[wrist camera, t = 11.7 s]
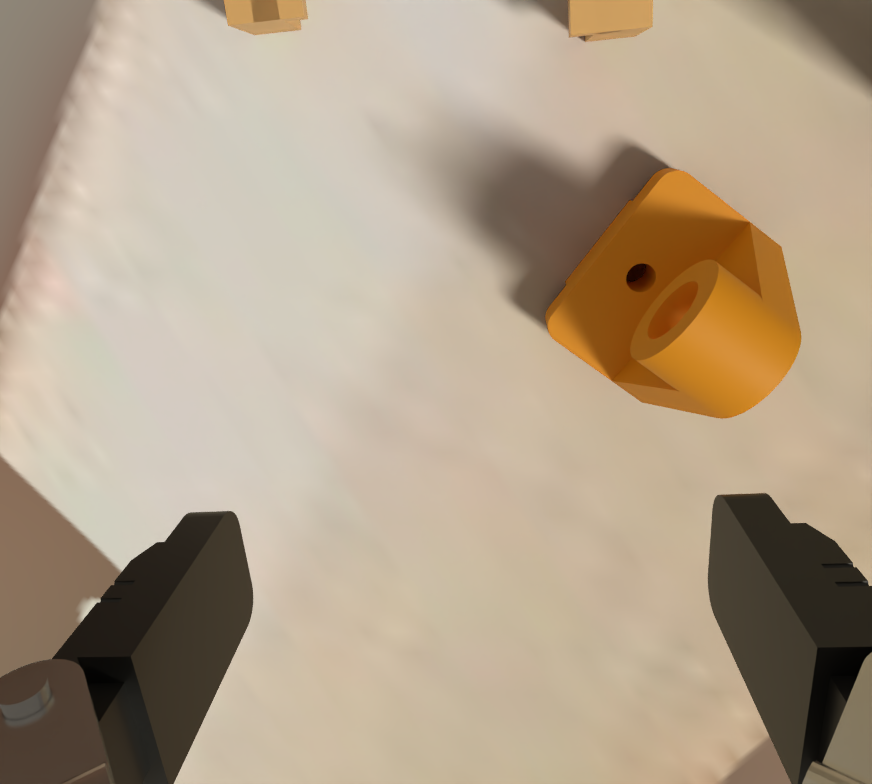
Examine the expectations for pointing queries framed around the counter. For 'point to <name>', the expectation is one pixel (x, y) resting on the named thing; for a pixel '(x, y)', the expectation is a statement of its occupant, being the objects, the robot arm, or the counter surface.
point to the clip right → (609, 18)
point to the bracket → (682, 303)
